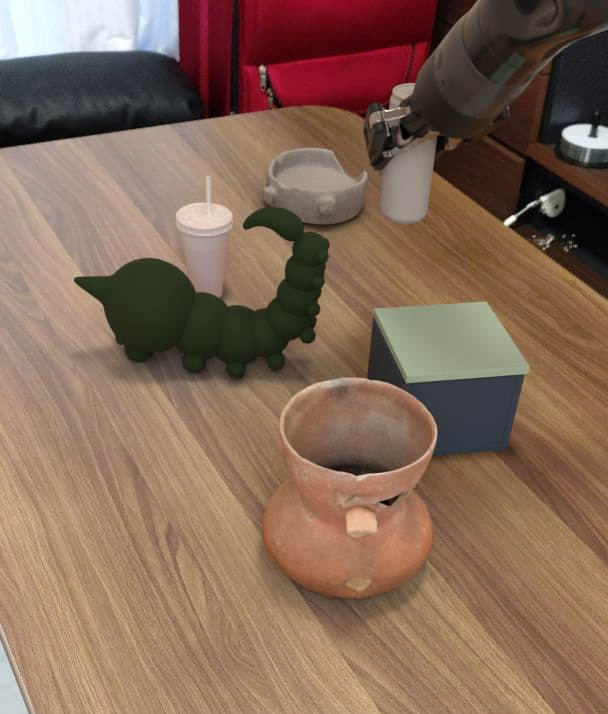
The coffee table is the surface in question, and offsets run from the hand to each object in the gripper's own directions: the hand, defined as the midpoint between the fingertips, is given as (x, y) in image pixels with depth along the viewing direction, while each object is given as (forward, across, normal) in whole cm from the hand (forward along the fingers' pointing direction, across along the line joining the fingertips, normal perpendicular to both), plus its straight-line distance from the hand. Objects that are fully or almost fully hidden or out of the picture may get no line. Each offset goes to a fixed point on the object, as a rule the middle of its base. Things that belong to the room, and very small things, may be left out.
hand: (400, 157), depth 96 cm
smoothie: (+24, -16, -4) cm, 29 cm away
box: (+3, -1, -26) cm, 26 cm away
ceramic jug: (-7, -17, -36) cm, 41 cm away
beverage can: (+2, 0, -5) cm, 6 cm away
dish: (+36, +4, +8) cm, 38 cm away
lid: (-4, -1, -19) cm, 20 cm away
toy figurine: (+14, -21, -14) cm, 29 cm away
